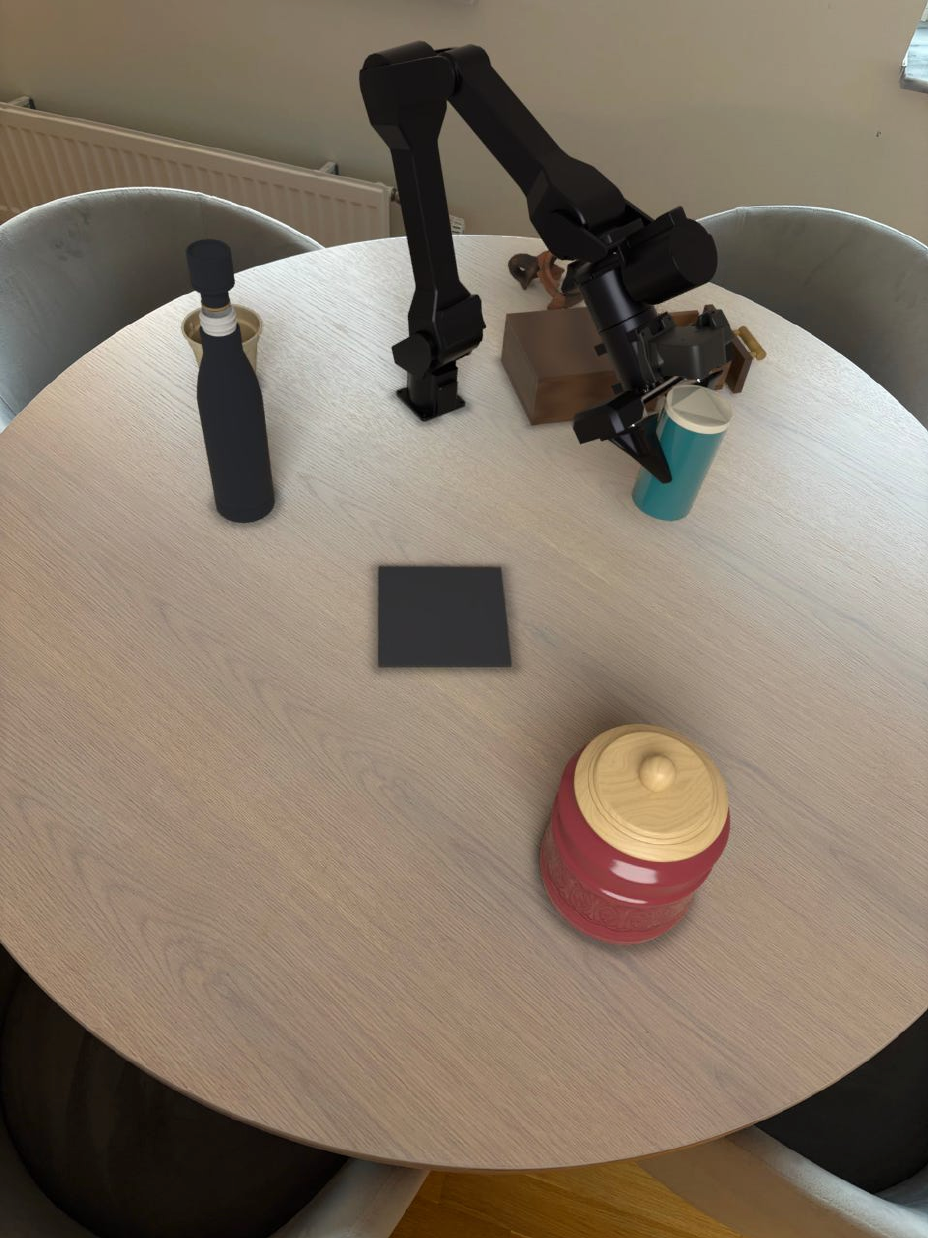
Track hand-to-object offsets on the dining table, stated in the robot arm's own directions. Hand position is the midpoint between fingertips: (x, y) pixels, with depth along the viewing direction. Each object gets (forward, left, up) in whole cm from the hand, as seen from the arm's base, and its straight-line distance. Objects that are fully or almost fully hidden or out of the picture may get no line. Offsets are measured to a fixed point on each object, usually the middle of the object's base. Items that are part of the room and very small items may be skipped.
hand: (688, 467), depth 94 cm
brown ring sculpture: (-48, +22, -14) cm, 54 cm away
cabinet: (-29, +12, -13) cm, 34 cm away
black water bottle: (-31, -34, -14) cm, 48 cm away
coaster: (-6, -25, -13) cm, 29 cm away
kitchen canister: (+25, -28, -14) cm, 40 cm away
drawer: (-24, +26, -12) cm, 38 cm away
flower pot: (-51, -26, -14) cm, 59 cm away
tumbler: (-1, -1, -5) cm, 5 cm away
